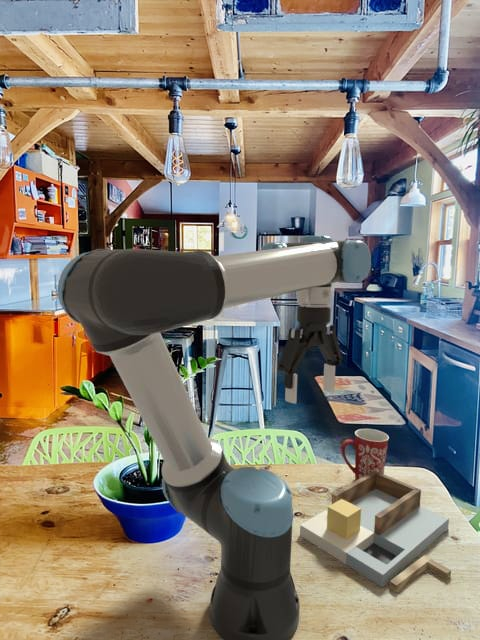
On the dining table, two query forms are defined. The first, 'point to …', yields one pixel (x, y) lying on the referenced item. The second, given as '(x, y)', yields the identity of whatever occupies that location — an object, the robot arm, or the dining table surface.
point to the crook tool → (418, 572)
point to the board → (378, 538)
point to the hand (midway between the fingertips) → (310, 396)
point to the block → (343, 518)
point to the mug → (367, 452)
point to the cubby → (388, 485)
